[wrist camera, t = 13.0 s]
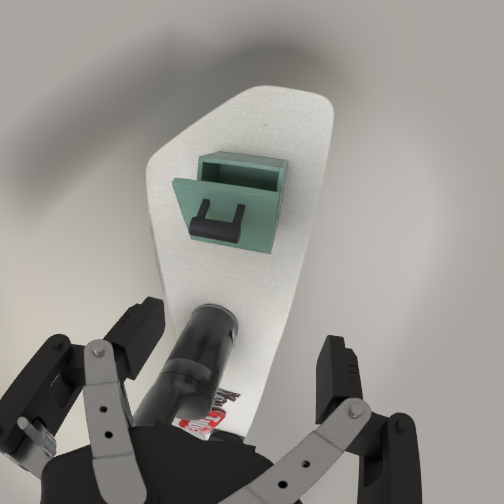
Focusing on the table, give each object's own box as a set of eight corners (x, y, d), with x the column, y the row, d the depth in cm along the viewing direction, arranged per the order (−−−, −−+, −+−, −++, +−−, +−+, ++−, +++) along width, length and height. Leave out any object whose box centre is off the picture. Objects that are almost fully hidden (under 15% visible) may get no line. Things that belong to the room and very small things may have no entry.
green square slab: (174, 177, 25) (155, 217, 23) (279, 192, 24) (270, 236, 22) (193, 234, 35) (181, 267, 33) (271, 248, 34) (264, 284, 32)
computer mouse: (245, 447, 67) (248, 437, 71) (210, 435, 68) (214, 425, 72) (239, 454, 69) (242, 445, 73) (206, 443, 70) (210, 434, 74)
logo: (208, 391, 57) (246, 400, 60) (208, 385, 58) (245, 395, 61) (176, 429, 66) (207, 436, 69) (176, 424, 67) (207, 431, 70)
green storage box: (218, 151, 38) (198, 156, 31) (288, 161, 37) (285, 168, 30) (212, 215, 43) (193, 235, 35) (277, 227, 42) (271, 249, 34)
